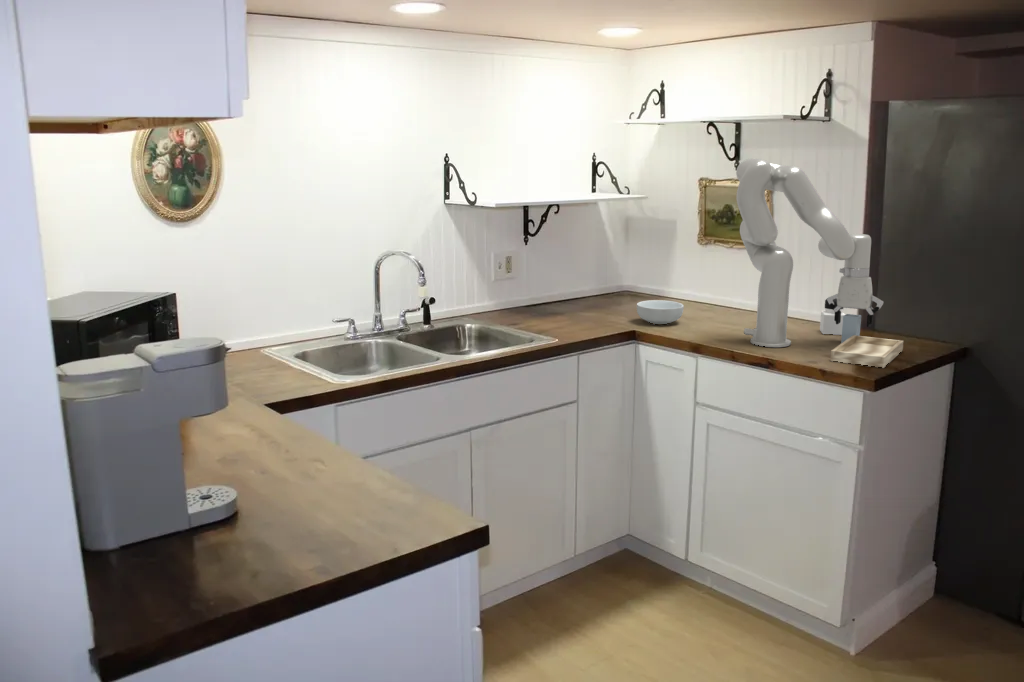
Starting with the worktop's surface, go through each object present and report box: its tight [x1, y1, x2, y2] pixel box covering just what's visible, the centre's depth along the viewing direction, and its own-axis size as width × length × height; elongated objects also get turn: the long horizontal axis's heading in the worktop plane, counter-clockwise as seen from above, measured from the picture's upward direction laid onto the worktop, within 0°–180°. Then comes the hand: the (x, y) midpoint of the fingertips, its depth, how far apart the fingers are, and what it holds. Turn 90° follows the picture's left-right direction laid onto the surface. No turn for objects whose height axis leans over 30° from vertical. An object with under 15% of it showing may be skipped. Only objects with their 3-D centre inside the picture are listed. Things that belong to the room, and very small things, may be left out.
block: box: [840, 313, 862, 344], centre depth 274 cm, size 4×4×9 cm
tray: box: [829, 335, 904, 369], centre depth 256 cm, size 15×26×3 cm, turn 145°
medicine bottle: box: [819, 298, 846, 336], centre depth 288 cm, size 7×7×12 cm
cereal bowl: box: [636, 299, 684, 325], centre depth 307 cm, size 17×17×7 cm
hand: (853, 324), depth 273 cm, fingers open, 9 cm apart
